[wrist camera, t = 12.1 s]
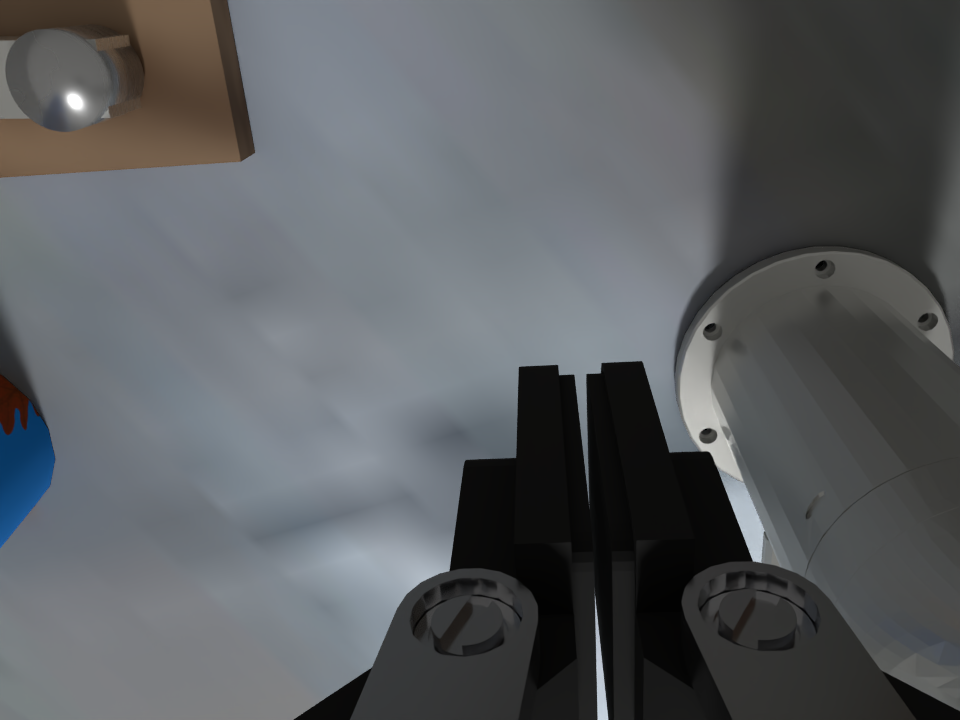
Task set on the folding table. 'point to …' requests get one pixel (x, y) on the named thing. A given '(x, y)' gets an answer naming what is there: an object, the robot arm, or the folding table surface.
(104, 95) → the lock bar
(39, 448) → the thermos
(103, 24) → the plate
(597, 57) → the folding table surface
